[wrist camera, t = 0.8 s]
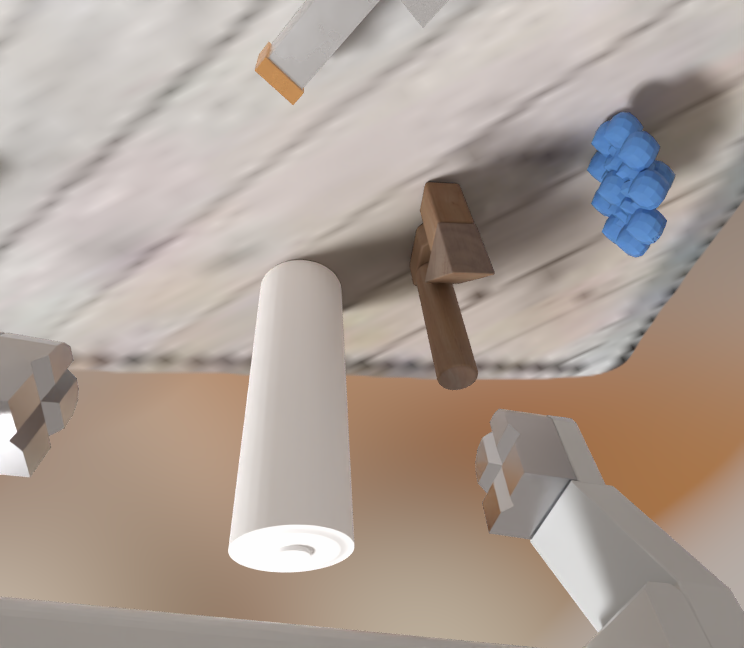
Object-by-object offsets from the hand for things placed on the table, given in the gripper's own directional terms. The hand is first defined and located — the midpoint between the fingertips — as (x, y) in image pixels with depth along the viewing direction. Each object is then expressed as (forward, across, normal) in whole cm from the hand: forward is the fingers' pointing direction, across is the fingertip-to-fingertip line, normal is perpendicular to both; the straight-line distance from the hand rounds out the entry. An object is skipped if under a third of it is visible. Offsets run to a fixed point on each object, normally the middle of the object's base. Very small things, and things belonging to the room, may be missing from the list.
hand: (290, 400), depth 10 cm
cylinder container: (+43, +2, +24) cm, 49 cm away
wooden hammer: (+42, -11, +13) cm, 46 cm away
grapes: (+42, -26, +2) cm, 49 cm away
